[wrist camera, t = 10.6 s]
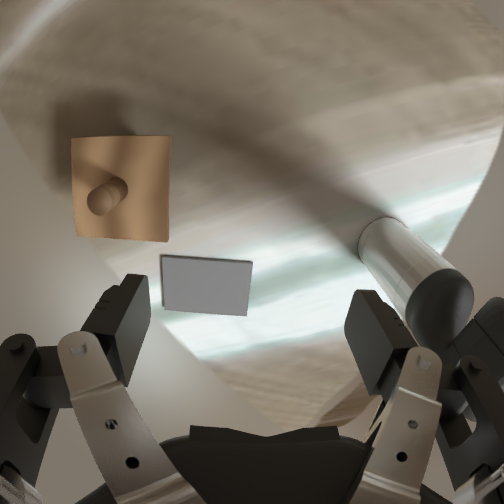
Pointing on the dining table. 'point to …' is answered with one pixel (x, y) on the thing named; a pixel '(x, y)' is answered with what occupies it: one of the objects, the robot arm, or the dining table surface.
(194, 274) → the mat
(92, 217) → the lid
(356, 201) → the dining table surface
